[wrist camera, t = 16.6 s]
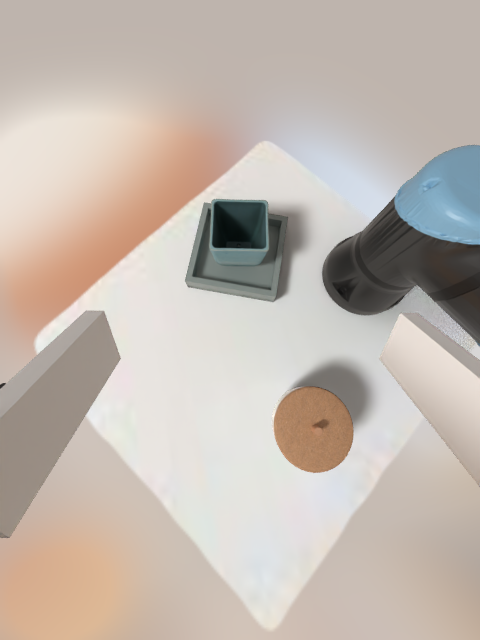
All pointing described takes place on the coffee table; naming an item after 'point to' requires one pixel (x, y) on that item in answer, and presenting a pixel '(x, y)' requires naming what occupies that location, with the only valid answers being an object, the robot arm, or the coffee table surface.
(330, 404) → the lidded jar
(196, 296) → the coffee table surface
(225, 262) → the flower pot
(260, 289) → the tray
